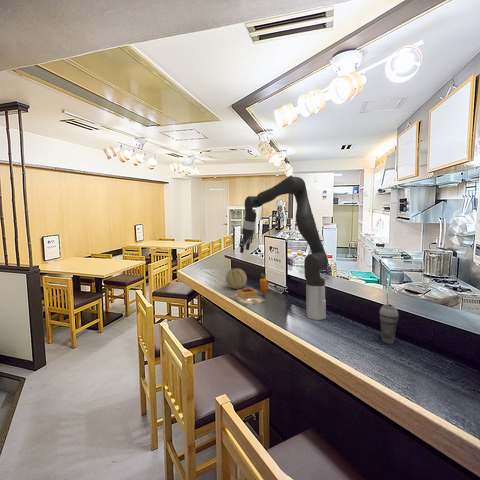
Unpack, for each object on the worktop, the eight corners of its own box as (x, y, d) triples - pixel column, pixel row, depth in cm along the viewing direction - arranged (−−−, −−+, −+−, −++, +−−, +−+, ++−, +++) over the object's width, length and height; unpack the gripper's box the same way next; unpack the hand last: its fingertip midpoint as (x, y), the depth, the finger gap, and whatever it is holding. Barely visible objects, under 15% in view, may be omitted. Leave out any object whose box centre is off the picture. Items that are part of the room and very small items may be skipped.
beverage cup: (387, 346, 112) (389, 298, 110) (374, 338, 119) (375, 292, 117) (402, 343, 114) (403, 296, 112) (388, 335, 121) (389, 291, 119)
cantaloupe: (250, 289, 196) (249, 268, 194) (230, 292, 190) (229, 271, 189) (242, 284, 209) (241, 265, 208) (223, 287, 204) (223, 267, 202)
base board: (248, 293, 187) (248, 291, 187) (265, 301, 170) (265, 299, 170) (230, 297, 180) (230, 295, 180) (246, 306, 163) (246, 304, 163)
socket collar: (250, 293, 184) (250, 286, 183) (261, 298, 172) (261, 291, 172) (233, 296, 177) (233, 289, 177) (243, 302, 166) (243, 294, 165)
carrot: (267, 294, 184) (266, 272, 182) (268, 296, 179) (267, 273, 178) (259, 294, 184) (259, 272, 182) (260, 297, 179) (260, 274, 177)
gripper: (249, 231, 169) (244, 255, 174) (258, 227, 181) (254, 250, 186) (238, 227, 172) (234, 252, 177) (248, 224, 184) (244, 247, 189)
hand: (244, 251), depth 181 cm, fingers open, 8 cm apart
